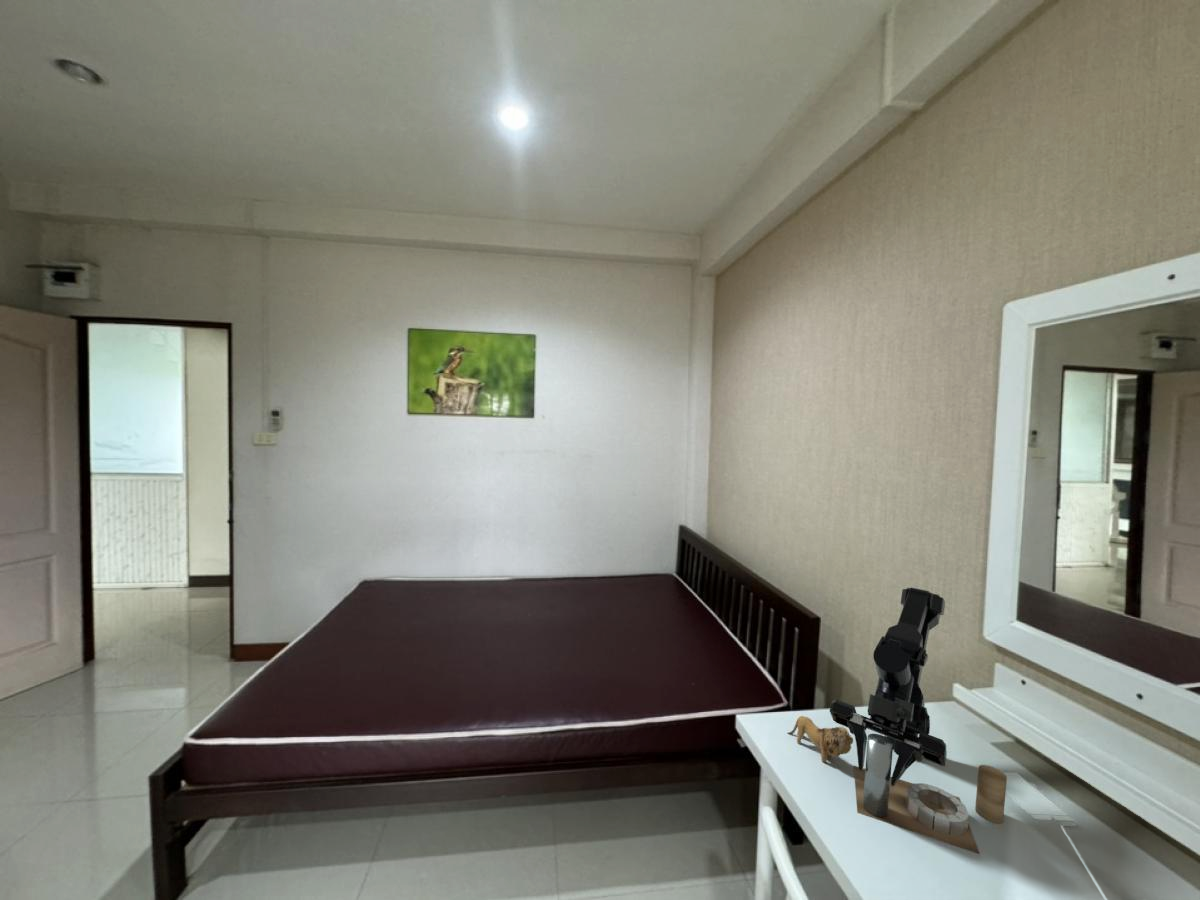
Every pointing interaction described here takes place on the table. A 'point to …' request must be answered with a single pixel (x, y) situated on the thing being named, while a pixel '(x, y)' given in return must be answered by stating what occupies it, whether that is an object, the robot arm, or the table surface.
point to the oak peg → (991, 794)
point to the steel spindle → (877, 775)
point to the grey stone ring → (934, 820)
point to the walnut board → (904, 818)
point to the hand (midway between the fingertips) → (876, 777)
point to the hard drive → (1034, 801)
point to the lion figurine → (824, 738)
